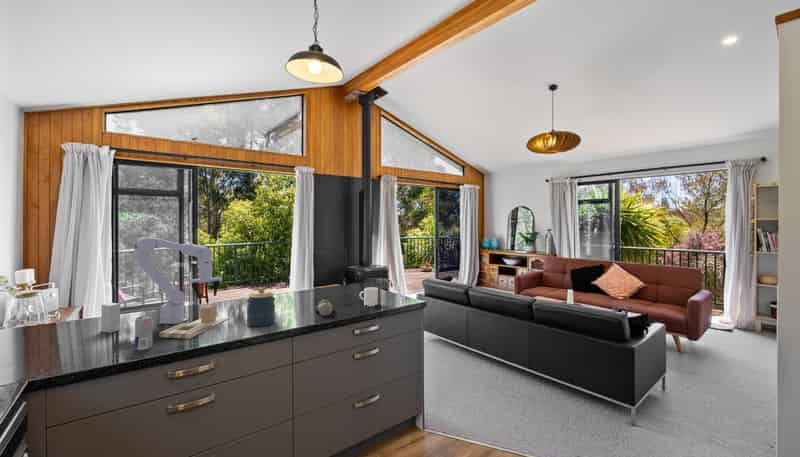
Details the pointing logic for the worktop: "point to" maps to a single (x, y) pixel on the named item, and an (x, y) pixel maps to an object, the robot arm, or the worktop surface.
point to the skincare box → (110, 317)
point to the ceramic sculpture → (324, 307)
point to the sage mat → (214, 323)
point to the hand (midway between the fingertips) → (206, 296)
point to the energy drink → (143, 333)
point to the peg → (208, 314)
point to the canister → (260, 308)
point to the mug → (370, 296)
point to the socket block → (185, 330)
